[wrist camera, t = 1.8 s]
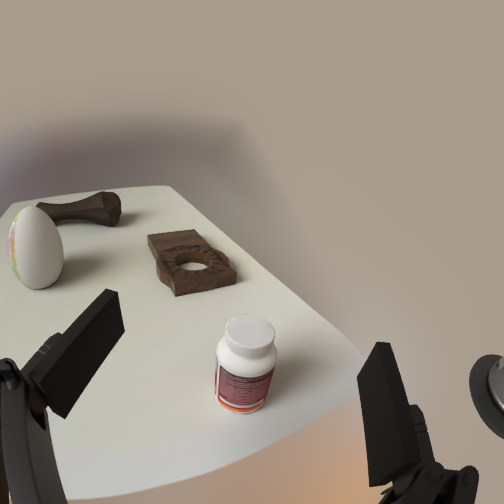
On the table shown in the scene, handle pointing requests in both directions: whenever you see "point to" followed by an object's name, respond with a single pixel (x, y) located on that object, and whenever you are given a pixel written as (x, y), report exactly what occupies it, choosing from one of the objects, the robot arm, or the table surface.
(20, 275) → the decorative egg
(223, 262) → the plate
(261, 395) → the pill bottle
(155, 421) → the table surface
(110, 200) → the dark brown bone
